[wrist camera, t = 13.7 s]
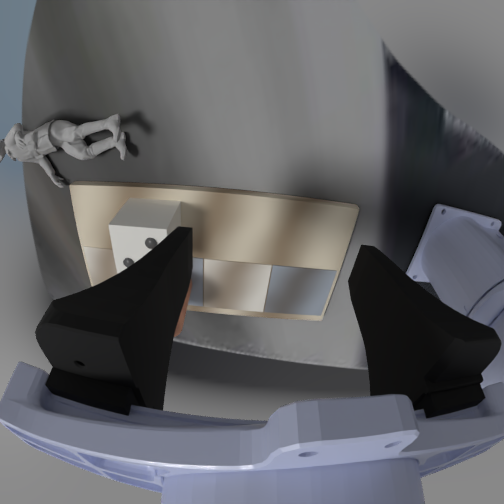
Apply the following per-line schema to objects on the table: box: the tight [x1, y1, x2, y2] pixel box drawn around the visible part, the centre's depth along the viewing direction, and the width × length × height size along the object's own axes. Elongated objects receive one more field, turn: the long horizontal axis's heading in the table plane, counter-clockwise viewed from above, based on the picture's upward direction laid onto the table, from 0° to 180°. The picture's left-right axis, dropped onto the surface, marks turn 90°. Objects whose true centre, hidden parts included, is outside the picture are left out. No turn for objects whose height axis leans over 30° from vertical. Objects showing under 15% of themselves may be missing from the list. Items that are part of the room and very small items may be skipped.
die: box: [109, 198, 181, 273], centre depth 20 cm, size 4×4×4 cm
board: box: [70, 181, 359, 321], centre depth 24 cm, size 22×12×1 cm, turn 84°
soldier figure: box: [0, 114, 127, 187], centre depth 17 cm, size 8×5×12 cm
